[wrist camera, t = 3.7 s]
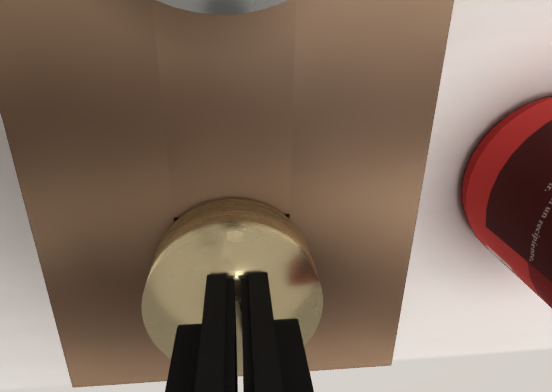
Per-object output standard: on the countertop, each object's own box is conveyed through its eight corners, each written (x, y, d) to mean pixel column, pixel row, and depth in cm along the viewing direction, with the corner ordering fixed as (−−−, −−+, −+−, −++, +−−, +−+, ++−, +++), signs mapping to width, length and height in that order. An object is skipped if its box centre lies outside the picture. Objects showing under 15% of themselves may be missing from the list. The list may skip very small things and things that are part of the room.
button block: (-21, -312, 10) (-157, -488, 7) (431, -272, 12) (523, -406, 8) (104, 314, 18) (72, 387, 15) (361, 300, 20) (391, 365, 16)
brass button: (166, 157, 16) (129, 234, 10) (295, 155, 16) (328, 227, 11) (177, 267, 18) (152, 382, 12) (292, 262, 18) (318, 370, 13)
